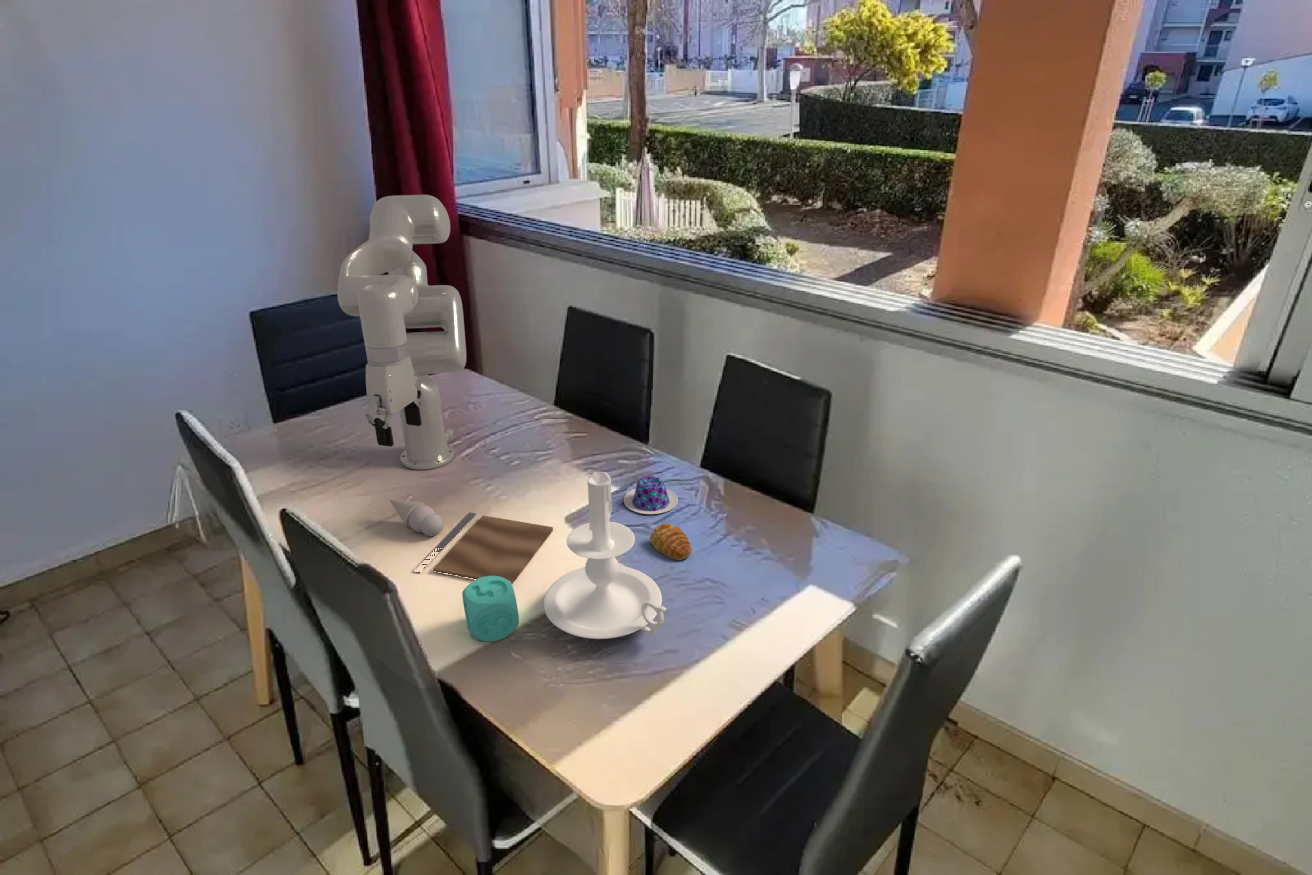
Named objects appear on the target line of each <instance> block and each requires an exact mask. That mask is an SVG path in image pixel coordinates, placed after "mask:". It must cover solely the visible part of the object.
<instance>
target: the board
mask: <svg viewBox="0 0 1312 875" xmlns="http://www.w3.org/2000/svg"><path fill="white" fill-rule="evenodd" d="M553 530H554V527H553V526H548V525H541V524H537V523H531V522H530V523H529V522H524V521H518V520H512V519H508V518H507V519H506V518H501V517H494V516H489V515H483V514H482V515H481V517H480V518H478V520H477V521H476V522H475V523H474V524H473V526H471V527H470V528H469V530H468V531H467V532H466V533H465V534H464V535H463V536H462V537H461V538H460V540H459V541H458V542H456V544H455V545H454V546H453V547H452V548H451V549H450V550H448V552H447V554H446V555H444V556H443V557H442V558H441V560H440V561H438V563H437V564H436V565H435V566H434V567H433V568H432V571H436V572H441V573H448V574H452V575H458V576H461V577H468V578H473V579H478V578H481V577H485V576H499V577H503V578H505V579H507V580H509V581H510V582H511V584H512V585H513V584H514V583H515V581H516V580H517V579H518V577H519V576H520V575H521V574H522V572H523V571H524V570H525V569H526V567H527V566H528V564H529V563H530V562H531V560H532V559H533V558H534V557H535V555H536V554H537V552H538V551H539V550H540V548H541V547H542V546H543V544H544V543H545V542H546V540H547V539H548V538H549V537H550V535H551V534H552V533H553ZM513 582H514V583H513Z"/></svg>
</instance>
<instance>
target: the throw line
mask: <svg viewBox="0 0 1312 875" xmlns="http://www.w3.org/2000/svg"><path fill="white" fill-rule="evenodd" d="M476 515H477V513H475V512H468V514H466V515H465V516H464V518H462V520H461V521H459V523H458V524H457V525H456V526H454V528H453V529H452V530H451V531H450V532H449V533H448V534H447V535H446V536H445V537H444V538H443V539H442V540H441V541H440V542H439V543H438V544H437V545H436V546H435V548H437V551H436V552H440V551H441V550H442V548H444V547H445V546H446V545H447V544H448V543H449V542H450V541H452V540H453V539H455V537H456V536H458V534H459V533H460V532H461V531H462V530H463V529H464V528H465V527H466V526H467V525H466V524H467V523H468V522H469V523H470V521H472V519H474V517H475V516H476ZM469 523H468V524H469ZM464 526H465V527H464ZM463 527H464V528H463ZM462 528H463V529H462ZM460 530H461V531H460ZM451 539H452V540H451ZM450 543H451V542H450ZM450 543H449V544H450ZM449 544H448V545H449ZM448 545H447V546H448ZM447 546H446V547H447ZM446 547H445V548H446ZM435 548H433V550H434V552H435ZM438 548H439V550H438ZM440 548H441V549H440ZM445 548H444V549H445ZM433 550H431V552H433ZM442 551H443V550H442ZM442 551H441V552H442ZM441 552H440V553H441ZM427 556H429V554H428V555H427ZM430 556H431V555H430ZM432 556H433V555H432ZM434 556H435V554H434ZM423 560H430V559H425V558H424V559H423ZM422 565H427V564H422Z"/></svg>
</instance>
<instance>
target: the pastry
mask: <svg viewBox="0 0 1312 875" xmlns="http://www.w3.org/2000/svg"><path fill="white" fill-rule="evenodd" d="M649 540H650V542H651V545H652V546H653V548H654V549H655V550H656V551H657V552H659V554H660V553H661V554H662V555H663V556H665V557H668V558H670V559H671V560H676V561H682V560H684V559H687V558H689V557H690V555H691V553H692V551H693V548H692V547H691V542H690V541H689V538H688V537H687V535H686V533H684V531H683V530H682V529H681V528H680V527H678V526H673V524H671V523H662V524H659V525H658V526H657V527H656V528H655V529H653V531H652V533H651V534H650V536H649Z"/></svg>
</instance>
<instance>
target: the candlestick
mask: <svg viewBox="0 0 1312 875" xmlns="http://www.w3.org/2000/svg"><path fill="white" fill-rule="evenodd" d="M611 480H612V479H611V476H610V475H609V473H607V472H606V471H594V472H592V473H591V474H590V475H589V477H588V478H587V496H588V518H589V521H588V522H587V523H584V524H581V525H578V526H577V527H575V528H574V529H573V530H571V531H570V533H568V536H567V537H566V545H567V547H568V549H569V550H570V551H571V552H572V553H574V554H575V555H576V556H578V557H581V558H585V559H587V560H586V563H585V566H583V567H580V568H576V569H575V570H572V571H570V572H568V573H565V574H563V575H562V576H560V577H558V579H556V580H555V581H554V582H552V583H551V585H550V586H549V588H548V589H547V591H546V592H545V595H544V598H543V610H544V612H545V615H546V617H547V619H548V620H549V621H550V622H551V623H552V624H553V625H554V626H555V627H556V628H558V629H559V630H561V631H563V632H565V633H567V634H569V635H572V636H574V637H579V638H584V639H591V640H592V639H593V640H607V639H614V638H620V637H623V636H627V635H630V634H633V633H635V632H637V631H639V630H642V631H643V632H645V633H646V634H649V635H653V634H655V633H656V632H657V629H658V628H659V627H661V626H662V625H663V624H664V623H665V616H664V612H665V611H666V610H667V608H666V607H665V606H663V605H662V601H663V599H662V591H661V590H660V588H659V586H658V584H657V583H656V582H655V581H654V580H653V578H651V577H650V576H648V575H647V574H645V573H643V572H642V571H640V570H638V569H635V568H632V567H628V566H624V565H619V563H618V560H617V559H616V557H619V556H621V555H623V554H625V553H627V552H628V551H629V550H631V549H632V547H633V546H634V544H635V540H636V538H635V534H634V532H633V531H632V529H630V528H629V527H628V526H626V525H623V524H622V523H618V522H613V521H610V519H611V518H612V511H613V509H612V508H613V507H612V481H611ZM656 616H657V618H658V621H655V620H654V619H655V618H656ZM647 625H648V626H647Z"/></svg>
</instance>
